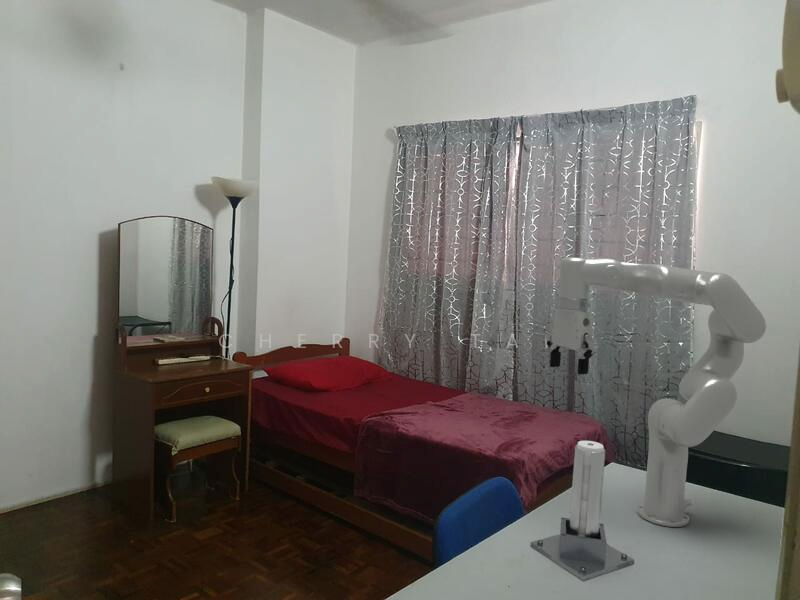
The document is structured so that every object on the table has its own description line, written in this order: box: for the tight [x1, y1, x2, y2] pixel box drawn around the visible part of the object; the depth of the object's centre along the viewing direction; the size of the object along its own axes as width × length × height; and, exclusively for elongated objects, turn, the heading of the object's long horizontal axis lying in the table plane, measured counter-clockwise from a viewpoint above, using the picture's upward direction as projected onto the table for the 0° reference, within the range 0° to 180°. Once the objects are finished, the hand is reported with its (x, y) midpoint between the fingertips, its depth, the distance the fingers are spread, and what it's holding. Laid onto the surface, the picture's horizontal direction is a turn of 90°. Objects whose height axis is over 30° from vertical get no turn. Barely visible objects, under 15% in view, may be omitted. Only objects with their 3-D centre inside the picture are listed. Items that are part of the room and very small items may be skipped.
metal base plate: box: [530, 517, 635, 582], centre depth 133 cm, size 16×16×6 cm
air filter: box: [569, 440, 606, 539], centre depth 133 cm, size 6×6×25 cm
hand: (568, 370), depth 153 cm, fingers open, 9 cm apart
